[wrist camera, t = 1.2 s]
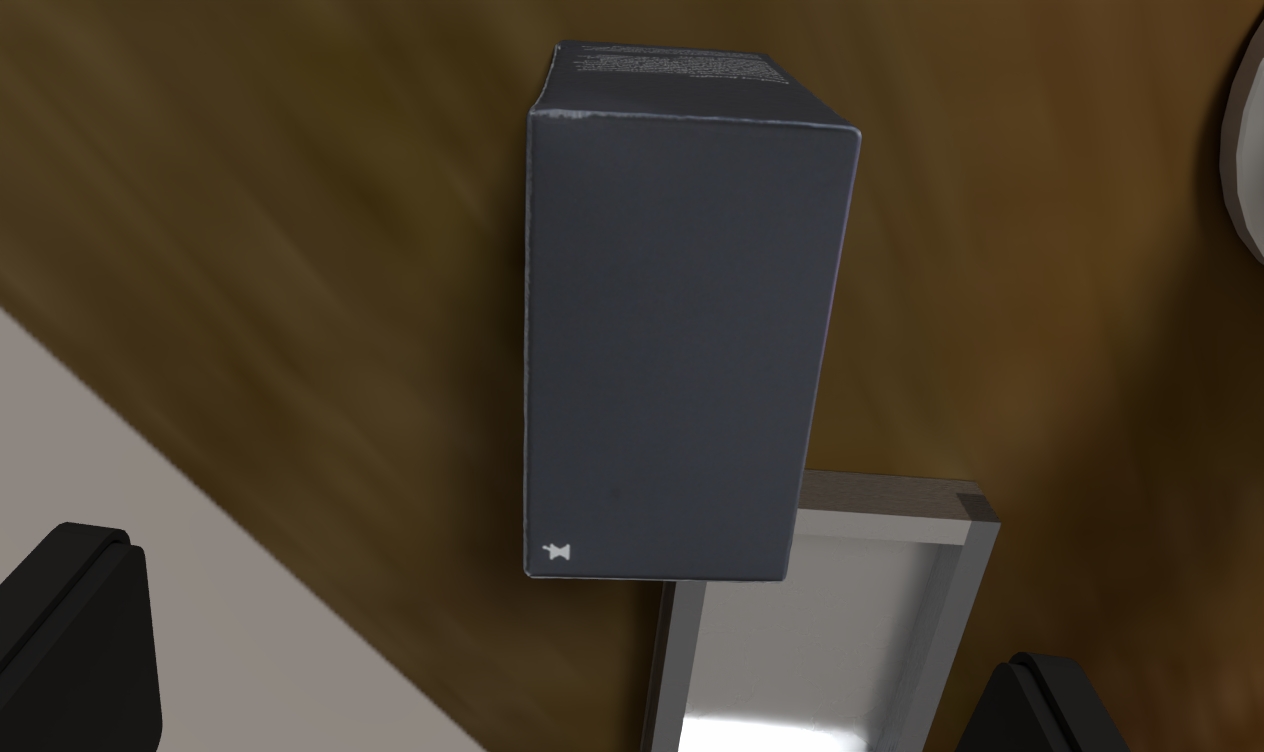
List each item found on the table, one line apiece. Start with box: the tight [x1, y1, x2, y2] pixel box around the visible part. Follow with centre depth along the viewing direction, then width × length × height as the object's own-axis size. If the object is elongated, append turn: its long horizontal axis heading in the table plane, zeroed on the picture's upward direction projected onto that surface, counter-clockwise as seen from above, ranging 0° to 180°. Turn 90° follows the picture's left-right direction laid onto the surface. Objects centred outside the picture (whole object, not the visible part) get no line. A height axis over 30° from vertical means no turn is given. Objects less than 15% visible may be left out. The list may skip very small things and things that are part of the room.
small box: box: [523, 40, 862, 583], centre depth 23 cm, size 11×6×10 cm, turn 177°
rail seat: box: [640, 469, 1001, 752], centre depth 33 cm, size 10×14×3 cm
